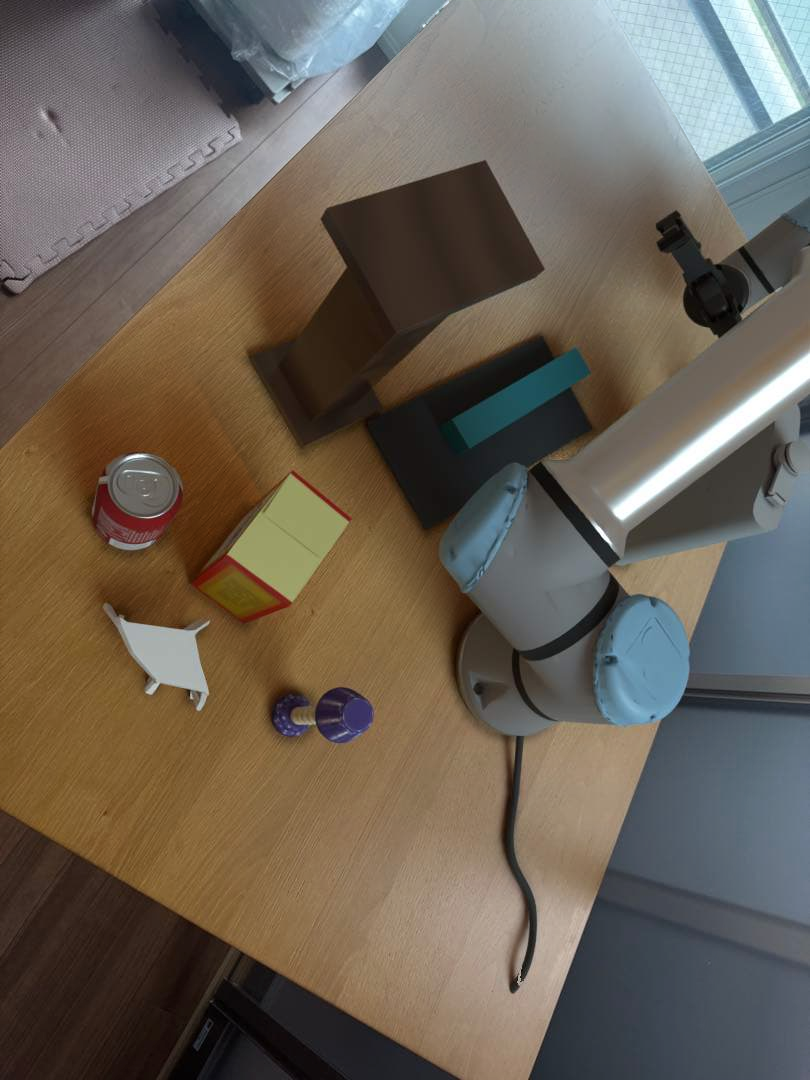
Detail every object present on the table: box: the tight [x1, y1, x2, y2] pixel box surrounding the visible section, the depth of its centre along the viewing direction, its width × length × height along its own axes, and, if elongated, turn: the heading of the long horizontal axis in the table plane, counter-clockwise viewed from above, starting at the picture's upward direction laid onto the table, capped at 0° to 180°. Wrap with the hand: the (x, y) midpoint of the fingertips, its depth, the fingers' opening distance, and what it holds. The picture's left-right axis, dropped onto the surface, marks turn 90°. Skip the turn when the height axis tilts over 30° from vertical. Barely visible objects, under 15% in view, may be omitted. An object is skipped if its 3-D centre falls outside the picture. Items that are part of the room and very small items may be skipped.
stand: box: [249, 159, 546, 450], centre depth 68 cm, size 16×11×30 cm
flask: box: [614, 403, 810, 567], centre depth 88 cm, size 17×5×25 cm, turn 156°
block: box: [440, 346, 592, 456], centre depth 91 cm, size 23×4×3 cm, turn 125°
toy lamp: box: [270, 686, 375, 744], centre depth 66 cm, size 5×5×17 cm
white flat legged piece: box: [102, 602, 211, 712], centre depth 66 cm, size 12×8×5 cm
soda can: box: [91, 451, 184, 552], centre depth 65 cm, size 7×7×12 cm
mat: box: [364, 335, 593, 531], centre depth 90 cm, size 30×14×1 cm, turn 123°
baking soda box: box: [190, 469, 353, 625], centre depth 67 cm, size 10×6×16 cm
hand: (702, 299), depth 74 cm, fingers open, 13 cm apart
